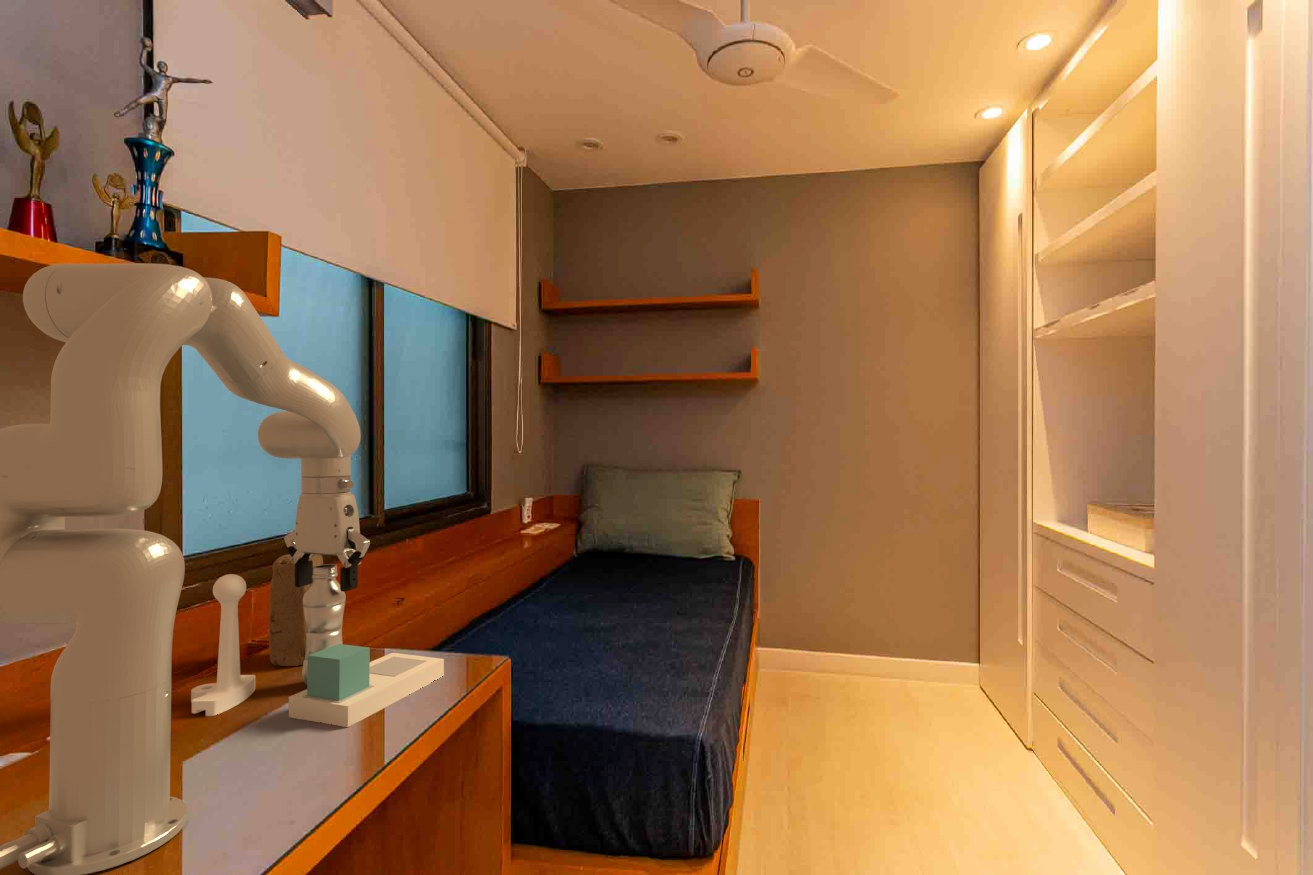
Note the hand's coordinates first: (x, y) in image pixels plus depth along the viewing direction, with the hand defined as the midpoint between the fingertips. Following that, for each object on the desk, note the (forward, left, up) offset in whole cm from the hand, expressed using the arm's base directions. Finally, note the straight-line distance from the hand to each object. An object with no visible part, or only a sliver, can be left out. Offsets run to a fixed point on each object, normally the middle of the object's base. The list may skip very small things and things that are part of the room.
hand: (326, 587), depth 111 cm
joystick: (-11, +10, -17) cm, 22 cm away
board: (-1, -11, -16) cm, 20 cm away
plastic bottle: (0, 0, -17) cm, 17 cm away
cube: (-8, -11, -13) cm, 19 cm away
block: (+9, +15, -17) cm, 24 cm away
